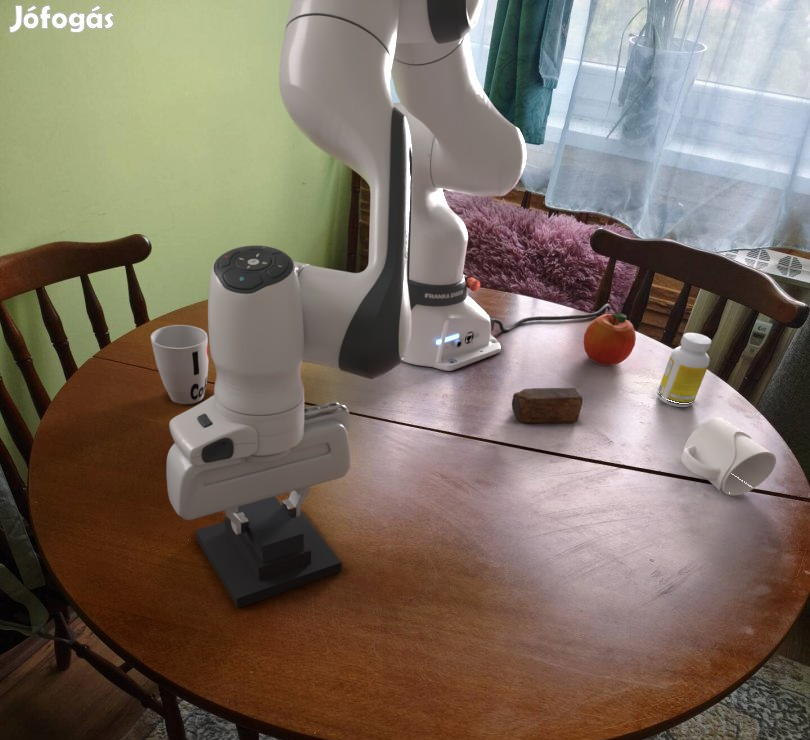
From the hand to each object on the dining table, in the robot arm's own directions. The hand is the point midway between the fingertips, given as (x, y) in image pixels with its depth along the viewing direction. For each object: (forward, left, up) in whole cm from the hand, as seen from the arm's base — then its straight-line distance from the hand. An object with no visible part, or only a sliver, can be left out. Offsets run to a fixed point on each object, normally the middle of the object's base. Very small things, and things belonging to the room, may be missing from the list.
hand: (266, 522), depth 80 cm
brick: (-54, -11, -5) cm, 55 cm away
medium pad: (0, 0, -4) cm, 4 cm away
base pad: (0, 0, -5) cm, 5 cm away
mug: (-66, +14, -5) cm, 68 cm away
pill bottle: (-81, -6, -5) cm, 81 cm away
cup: (-4, -40, -5) cm, 41 cm away
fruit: (-80, -23, -5) cm, 83 cm away
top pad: (0, 0, -2) cm, 2 cm away
